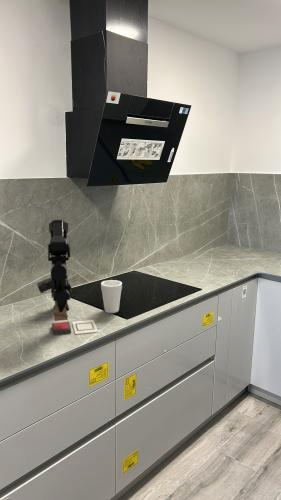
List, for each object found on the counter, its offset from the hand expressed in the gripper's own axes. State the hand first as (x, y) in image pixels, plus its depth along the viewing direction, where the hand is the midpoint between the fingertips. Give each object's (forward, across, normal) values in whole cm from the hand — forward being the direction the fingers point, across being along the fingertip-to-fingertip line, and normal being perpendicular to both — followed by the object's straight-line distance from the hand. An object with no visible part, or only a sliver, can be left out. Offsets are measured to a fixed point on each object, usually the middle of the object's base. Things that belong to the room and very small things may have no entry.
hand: (60, 309), depth 157 cm
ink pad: (+8, 0, 0) cm, 9 cm away
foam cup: (+9, -16, +24) cm, 30 cm away
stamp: (+3, 0, 0) cm, 3 cm away
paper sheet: (+8, 0, +10) cm, 13 cm away
